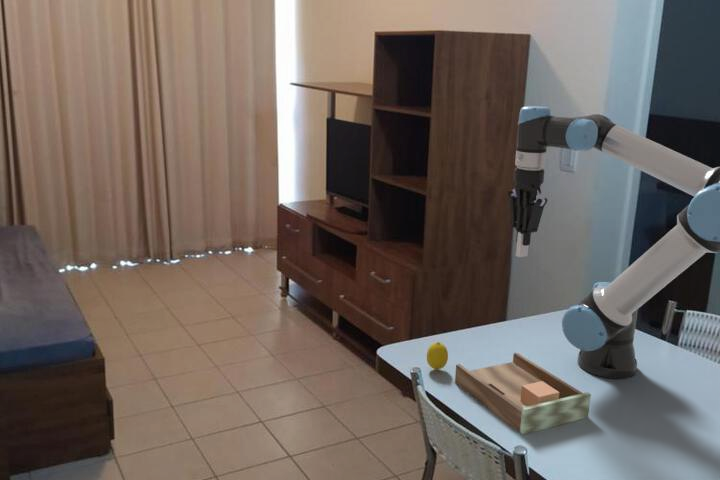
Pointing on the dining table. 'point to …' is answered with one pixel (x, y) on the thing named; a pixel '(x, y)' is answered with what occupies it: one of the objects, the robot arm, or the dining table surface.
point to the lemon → (437, 356)
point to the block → (538, 393)
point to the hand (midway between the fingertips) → (521, 255)
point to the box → (504, 394)
